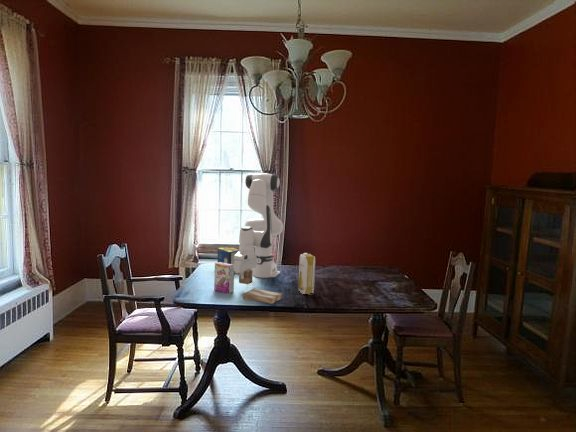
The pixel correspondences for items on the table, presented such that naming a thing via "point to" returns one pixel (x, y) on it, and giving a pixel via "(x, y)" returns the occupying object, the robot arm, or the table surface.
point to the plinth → (262, 296)
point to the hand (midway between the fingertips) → (245, 277)
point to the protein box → (227, 255)
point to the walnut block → (246, 277)
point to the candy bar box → (224, 277)
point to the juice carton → (306, 273)
